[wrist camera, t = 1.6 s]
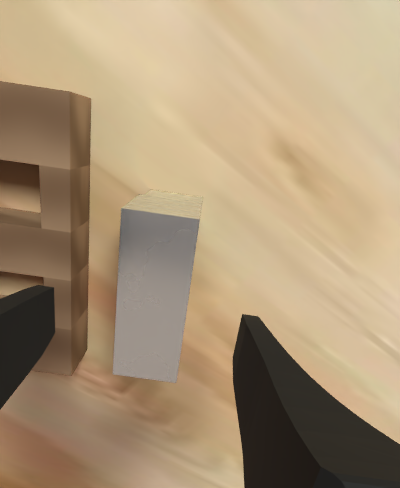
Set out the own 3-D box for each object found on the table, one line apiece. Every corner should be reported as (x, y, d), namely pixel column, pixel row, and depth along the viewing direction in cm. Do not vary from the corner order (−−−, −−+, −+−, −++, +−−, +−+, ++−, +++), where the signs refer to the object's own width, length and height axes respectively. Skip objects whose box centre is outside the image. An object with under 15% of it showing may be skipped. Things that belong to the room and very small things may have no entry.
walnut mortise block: (87, 349, 21) (71, 375, 19) (-28, 333, 21) (-58, 358, 19) (90, 98, 16) (69, 91, 13) (-63, 75, 16) (-112, 64, 13)
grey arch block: (186, 312, 20) (176, 383, 14) (141, 306, 20) (112, 374, 14) (203, 192, 17) (199, 219, 11) (151, 184, 17) (121, 208, 11)
